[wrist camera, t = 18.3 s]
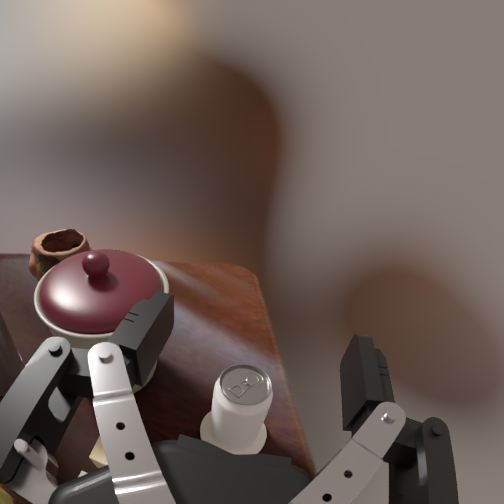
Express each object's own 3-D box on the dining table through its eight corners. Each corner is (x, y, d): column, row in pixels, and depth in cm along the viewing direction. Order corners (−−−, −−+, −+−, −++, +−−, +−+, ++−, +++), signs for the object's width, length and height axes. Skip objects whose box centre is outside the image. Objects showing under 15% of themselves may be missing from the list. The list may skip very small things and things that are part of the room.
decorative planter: (127, 293, 58) (122, 233, 52) (104, 332, 48) (92, 267, 41) (52, 276, 58) (42, 220, 51) (24, 308, 47) (7, 247, 40)
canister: (60, 415, 31) (4, 302, 21) (70, 330, 46) (47, 223, 36) (180, 413, 37) (176, 299, 27) (165, 328, 52) (164, 220, 42)
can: (267, 433, 36) (288, 385, 30) (233, 460, 31) (246, 419, 25) (233, 405, 39) (244, 352, 33) (199, 429, 35) (201, 379, 29)
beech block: (138, 488, 26) (129, 475, 23) (102, 473, 26) (89, 457, 23) (149, 457, 30) (143, 440, 27) (115, 444, 30) (105, 425, 27)
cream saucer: (227, 473, 30) (228, 471, 30) (187, 426, 36) (187, 422, 35) (278, 439, 36) (280, 436, 35) (237, 399, 41) (238, 395, 41)
